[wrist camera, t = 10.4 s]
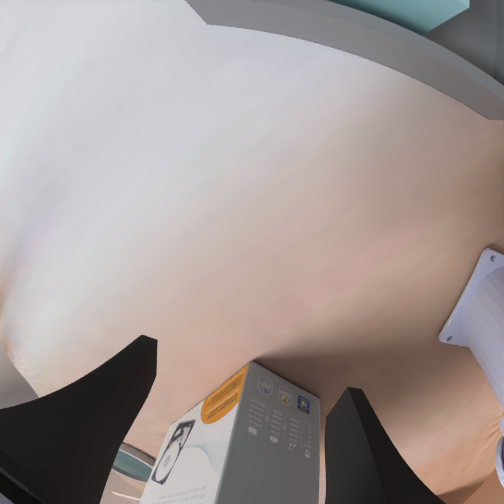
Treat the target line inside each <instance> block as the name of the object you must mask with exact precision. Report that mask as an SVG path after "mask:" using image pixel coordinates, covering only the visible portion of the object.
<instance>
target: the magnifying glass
mask: <svg viewBox="0 0 504 504" xmlns="http://www.w3.org/2000/svg"><path fill="white" fill-rule="evenodd" d="M155 462H156V461H154V460H153V459H151V458H150V457H148V456H147V455H145V454H143V453H142V452H140V451H138V450H136V449H134V448H132V447H130V446H128V445H126V444H124V443H122V444H121V446H120V448H119V451H118V453H117V456H116V458H115V461H114V463H113V466H112V468H111V469H112V470H113V471H115V472H117V473H119V474H121V475H123V476H125V477H127V478H130V479H133V480H135V481H139V482H142V483H146V484H147V482H148V480H149V477H150V475H151V472H152V470H153V467H154V464H155Z"/></svg>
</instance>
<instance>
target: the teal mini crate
mask: <svg viewBox="0 0 504 504" xmlns="http://www.w3.org/2000/svg"><path fill="white" fill-rule="evenodd" d="M332 2H334V3H337V4H341V5H344V6H347V7H350V8H354V9H357V10H360V11H363V12H365V13H368V14H371V15H374V16H377V17H379V18H382V19H384V20H387V21H389V22H392V23H394V24H397V25H399V26H401V27H404V28H406V29H408V30H410V31H412V32H415V33H417V34H419V35H421V36H423V35H424V34H426V33H427V32H429V31H431V30H432V29H434V28H435V27H437V26H439V25H440V24H442V23H444V22H445V21H447V20H449V19H450V18H452V17H454V16H455V15H457V14H459V13H461V12H462V11H464V10H466V9H468V8H469V0H332Z"/></svg>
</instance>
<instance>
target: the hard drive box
mask: <svg viewBox="0 0 504 504" xmlns="http://www.w3.org/2000/svg"><path fill="white" fill-rule="evenodd" d="M319 476H320V401H319V398H318V397H315V396H314V395H312V394H310V393H308V392H306V391H304V390H302V389H301V388H299V387H297V386H295V385H293V384H292V383H290V382H288V381H286V380H284V379H283V378H281V377H279V376H277V375H275V374H274V373H272V372H270V371H269V370H267V369H265V368H263V367H262V366H260V365H258V364H257V363H255V362H250V363H248V364H247V365H246V366H245V367H244V368H242V369H241V370H240V371H239V372H238V373H236V374H235V375H234V376H233V377H231V378H229V379H228V380H227V381H226V382H224V383H223V384H222V385H221V386H220V387H219V388H218V389H217V390H216V391H214V392H213V393H212V394H211V395H210V396H208V397H207V398H206V399H204V400H203V401H202V402H201V403H199V404H198V405H197V406H195V407H194V408H193V409H192V410H190V411H189V412H187V413H186V414H184V415H183V416H182V417H181V418H179V419H178V420H177V421H176V422H175V423H173V424H172V425H171V426H170V428H169V430H168V432H167V435H166V437H165V440H164V442H163V445H162V447H161V449H160V452H159V454H158V457H157V459H156V462H155V464H154V467H153V470H152V472H151V475H150V477H149V480H148V482H147V485H146V487H145V490H144V492H143V495H142V497H141V500H140V502H139V504H318V503H319V501H318V500H319Z"/></svg>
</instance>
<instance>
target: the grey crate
mask: <svg viewBox="0 0 504 504" xmlns="http://www.w3.org/2000/svg"><path fill="white" fill-rule="evenodd" d="M185 1H186V2H187V3H188V4H189V5H190V6H191V7H192V8H193V9H194V10H195V11H196V12H197V14H198V15H199V16H200V17H201V18H202V19H203V20H204V21H205V22H206V23H207V24H210V25H221V26H230V27H238V28H246V29H252V30H259V31H264V32H270V33H275V34H280V35H285V36H290V37H294V38H299V39H303V40H307V41H311V42H315V43H318V44H322V45H326V46H329V47H332V48H336V49H339V50H342V51H345V52H348V53H352V54H355V55H357V56H360V57H363V58H366V59H369V60H371V61H374V62H377V63H379V64H382V65H384V66H387V67H389V68H392V69H394V70H397V71H399V72H401V73H404V74H406V75H408V76H410V77H412V78H415V79H417V80H419V81H421V82H423V83H425V84H427V85H429V86H431V87H433V88H435V89H437V90H439V91H441V92H443V93H445V94H447V95H448V96H450V97H452V98H454V99H456V100H457V101H459V102H461V103H463V104H464V105H466V106H468V107H469V108H471V109H473V110H474V111H476V112H477V113H479V114H481V115H482V116H484V117H485V118H487V119H491V120H504V0H469V8H468V9H466V10H464V11H462V12H461V13H459V14H457V15H455V16H454V17H452V18H450V19H449V20H447V21H445V22H444V23H442V24H440V25H439V26H437V27H435V28H434V29H432V30H431V31H429V32H427V33H426V34H424V35H423V36H421V35H419V34H417V33H415V32H412V31H410V30H408V29H406V28H404V27H401V26H399V25H397V24H394V23H392V22H389V21H387V20H384V19H382V18H379V17H377V16H374V15H371V14H368V13H365V12H363V11H360V10H357V9H354V8H350V7H347V6H344V5H341V4H337V3H334V2H332V0H185Z"/></svg>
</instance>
